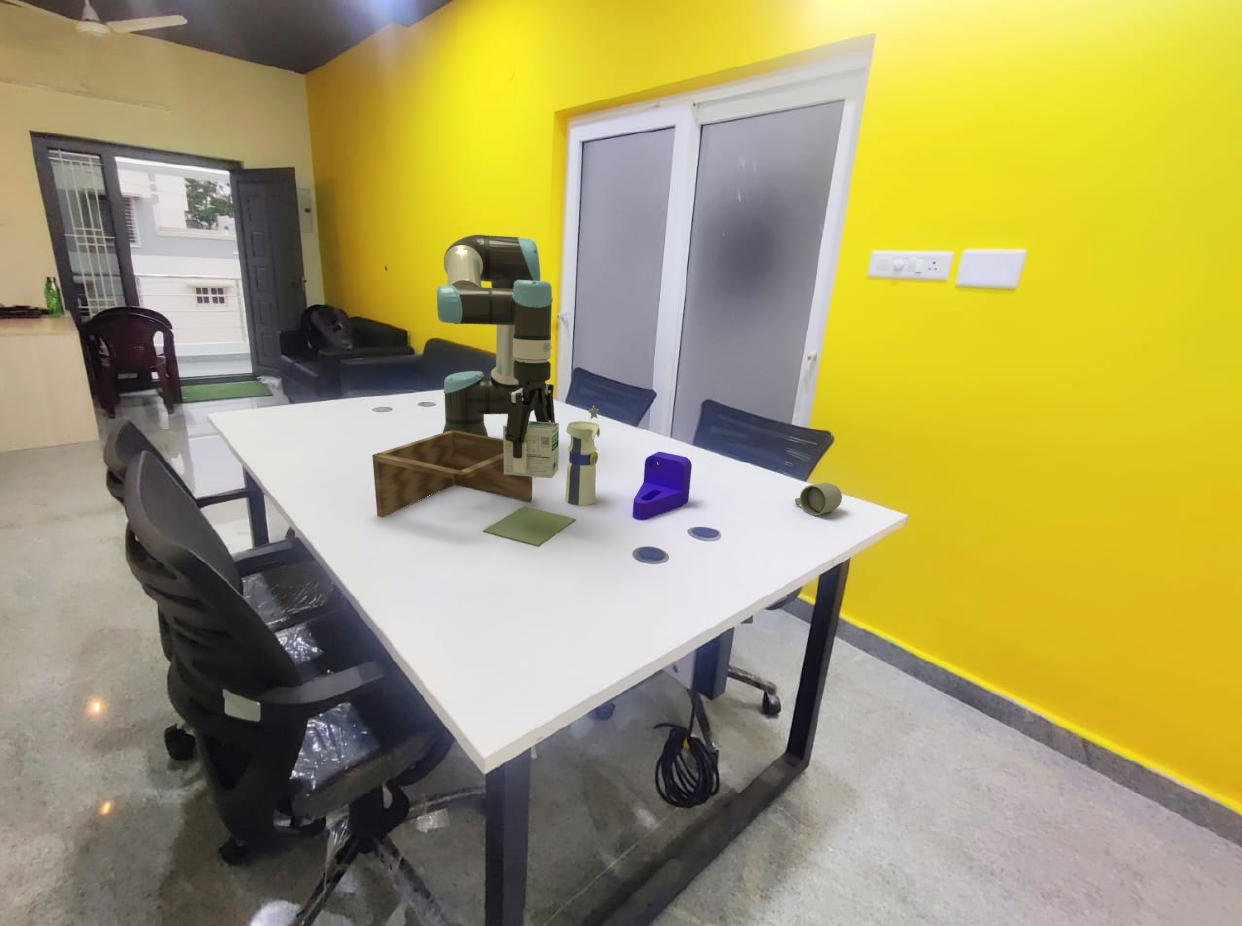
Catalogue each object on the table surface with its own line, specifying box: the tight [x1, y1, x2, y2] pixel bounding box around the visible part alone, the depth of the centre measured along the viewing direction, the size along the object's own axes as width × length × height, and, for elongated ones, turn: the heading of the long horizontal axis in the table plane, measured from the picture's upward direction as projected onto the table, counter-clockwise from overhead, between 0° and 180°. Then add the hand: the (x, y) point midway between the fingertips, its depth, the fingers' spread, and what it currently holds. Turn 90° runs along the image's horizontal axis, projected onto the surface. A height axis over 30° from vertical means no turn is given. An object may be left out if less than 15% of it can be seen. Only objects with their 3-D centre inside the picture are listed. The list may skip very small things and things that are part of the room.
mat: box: [482, 505, 577, 548], centre depth 128 cm, size 16×14×1 cm
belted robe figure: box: [564, 405, 601, 507], centre depth 141 cm, size 8×9×25 cm
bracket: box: [632, 451, 693, 521], centre depth 141 cm, size 18×11×12 cm, turn 151°
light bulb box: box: [502, 420, 560, 479], centre depth 123 cm, size 11×7×11 cm, turn 84°
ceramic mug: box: [794, 482, 843, 517], centre depth 146 cm, size 11×8×8 cm
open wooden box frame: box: [372, 430, 533, 518], centre depth 134 cm, size 26×24×14 cm
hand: (531, 466), depth 124 cm, fingers closed on light bulb box, 8 cm apart
